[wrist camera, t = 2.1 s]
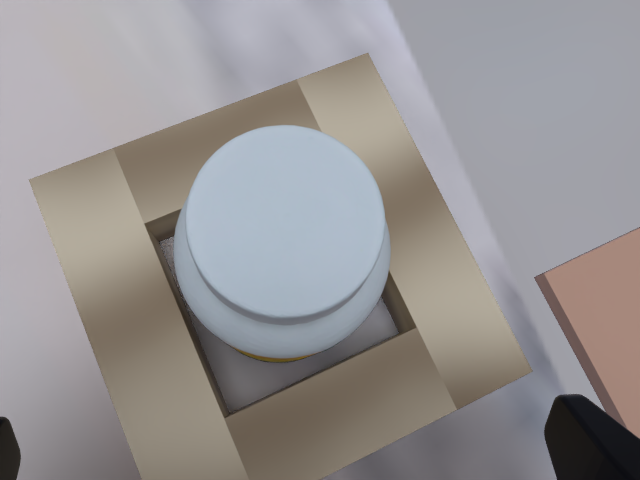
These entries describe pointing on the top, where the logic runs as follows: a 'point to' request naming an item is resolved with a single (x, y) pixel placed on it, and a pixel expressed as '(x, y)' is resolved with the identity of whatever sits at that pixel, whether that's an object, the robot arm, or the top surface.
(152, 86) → the top surface
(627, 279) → the terracotta tile
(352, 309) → the supplement bottle
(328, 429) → the socket block
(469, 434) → the top surface
